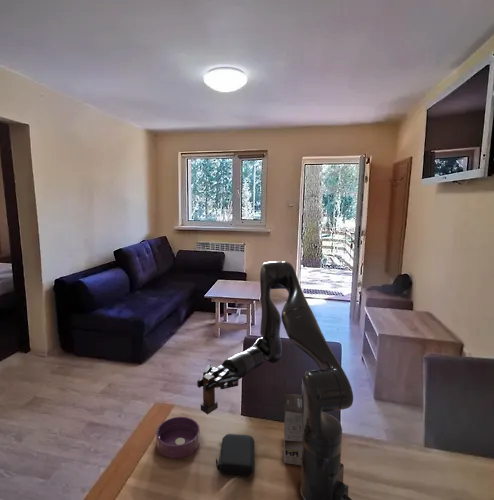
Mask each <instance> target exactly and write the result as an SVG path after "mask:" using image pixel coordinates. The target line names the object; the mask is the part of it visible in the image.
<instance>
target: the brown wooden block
mask: <svg viewBox="0 0 494 500" xmlns="http://www.w3.org/2000/svg"><path fill="white" fill-rule="evenodd" d="M202 378H203V386H202V403H200V411H201V412H203V413H205V414H206V415H210V414H211V413H212V412H214V411H215V410H217V409H218V408H219V405H218V403H219V402H218V401H216V394H215V390H216V388H214V389H212V390H210V391H207V392H206V391H205V390H204V385H205V384H207V383H208V382H210V381H212V380H214V376H212V375H210V374H207V375H205V376H203V375H202Z"/></svg>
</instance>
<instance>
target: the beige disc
mask: <svg viewBox="0 0 494 500" xmlns="http://www.w3.org/2000/svg"><path fill="white" fill-rule="evenodd" d="M181 444H185V439H183V438H178V439H176V441H175V445H181Z"/></svg>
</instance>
